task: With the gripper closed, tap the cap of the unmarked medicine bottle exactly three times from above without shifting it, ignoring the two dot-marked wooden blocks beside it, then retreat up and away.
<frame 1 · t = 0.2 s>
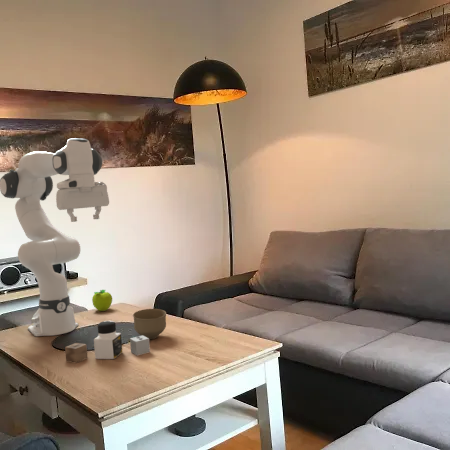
hand: (85, 220, 181), 47 cm above the table, fingers open, 8 cm apart
walnut block: (77, 359, 170), on the table
fruit: (103, 310, 238), on the table
grey painted block: (140, 352, 174), on the table
bowl: (151, 338, 190), on the table
medicine bottle: (109, 356, 172), on the table
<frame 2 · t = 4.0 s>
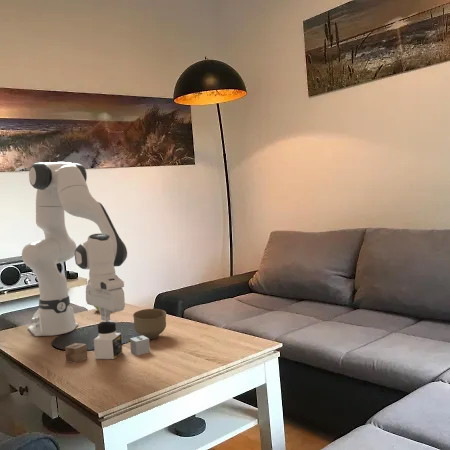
hand: (105, 320, 171), 13 cm above the table, fingers closed
nothing on the table moved.
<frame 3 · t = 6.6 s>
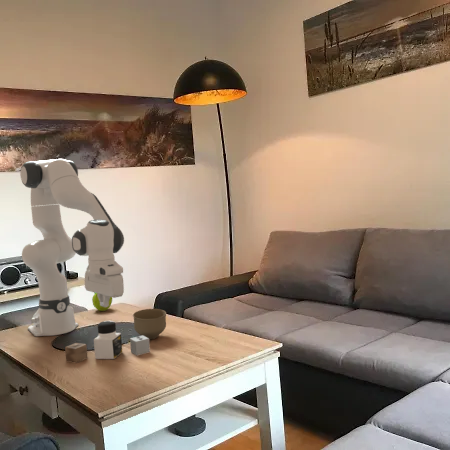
hand: (104, 306, 171), 17 cm above the table, fingers closed
nothing on the table moved.
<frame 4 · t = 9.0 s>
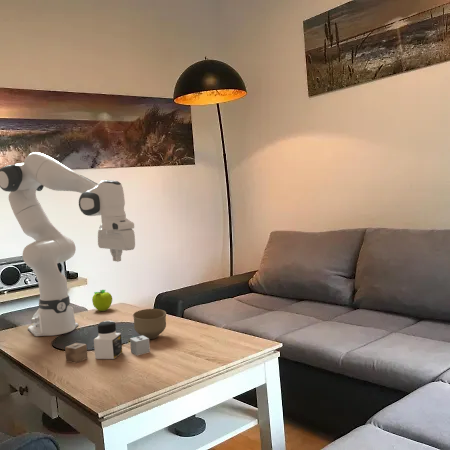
hand: (117, 261, 183), 31 cm above the table, fingers closed
nothing on the table moved.
at the end: medicine bottle moved 0.2 cm from its start; medicine bottle tilted 0°; walnut block moved 0.1 cm from its start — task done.
